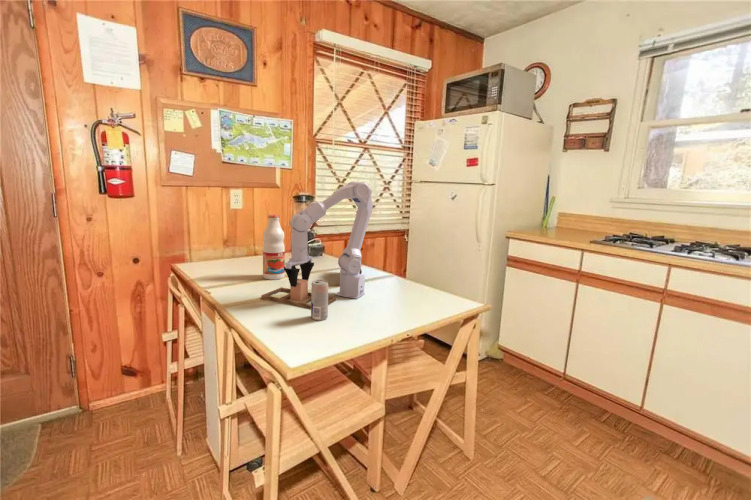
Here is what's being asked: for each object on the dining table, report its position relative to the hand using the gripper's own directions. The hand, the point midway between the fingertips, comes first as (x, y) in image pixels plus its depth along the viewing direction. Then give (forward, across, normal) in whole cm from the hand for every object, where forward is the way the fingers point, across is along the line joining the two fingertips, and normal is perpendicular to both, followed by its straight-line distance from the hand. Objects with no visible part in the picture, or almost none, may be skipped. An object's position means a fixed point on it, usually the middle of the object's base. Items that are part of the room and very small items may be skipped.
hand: (299, 283), depth 134 cm
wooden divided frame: (+6, 0, 0) cm, 6 cm away
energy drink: (+6, +12, +16) cm, 21 cm away
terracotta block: (+6, 0, 0) cm, 6 cm away
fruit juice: (+6, -20, -27) cm, 34 cm away
